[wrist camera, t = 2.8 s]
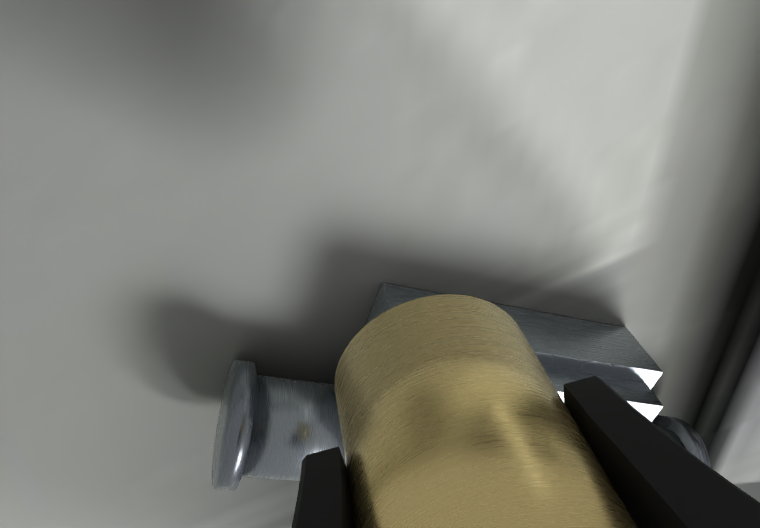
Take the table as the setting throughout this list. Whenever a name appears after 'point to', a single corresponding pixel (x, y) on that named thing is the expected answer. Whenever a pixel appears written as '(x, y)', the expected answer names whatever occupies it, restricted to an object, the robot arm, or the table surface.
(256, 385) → the valve body
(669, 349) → the table surface
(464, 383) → the brass cylinder
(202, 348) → the table surface
